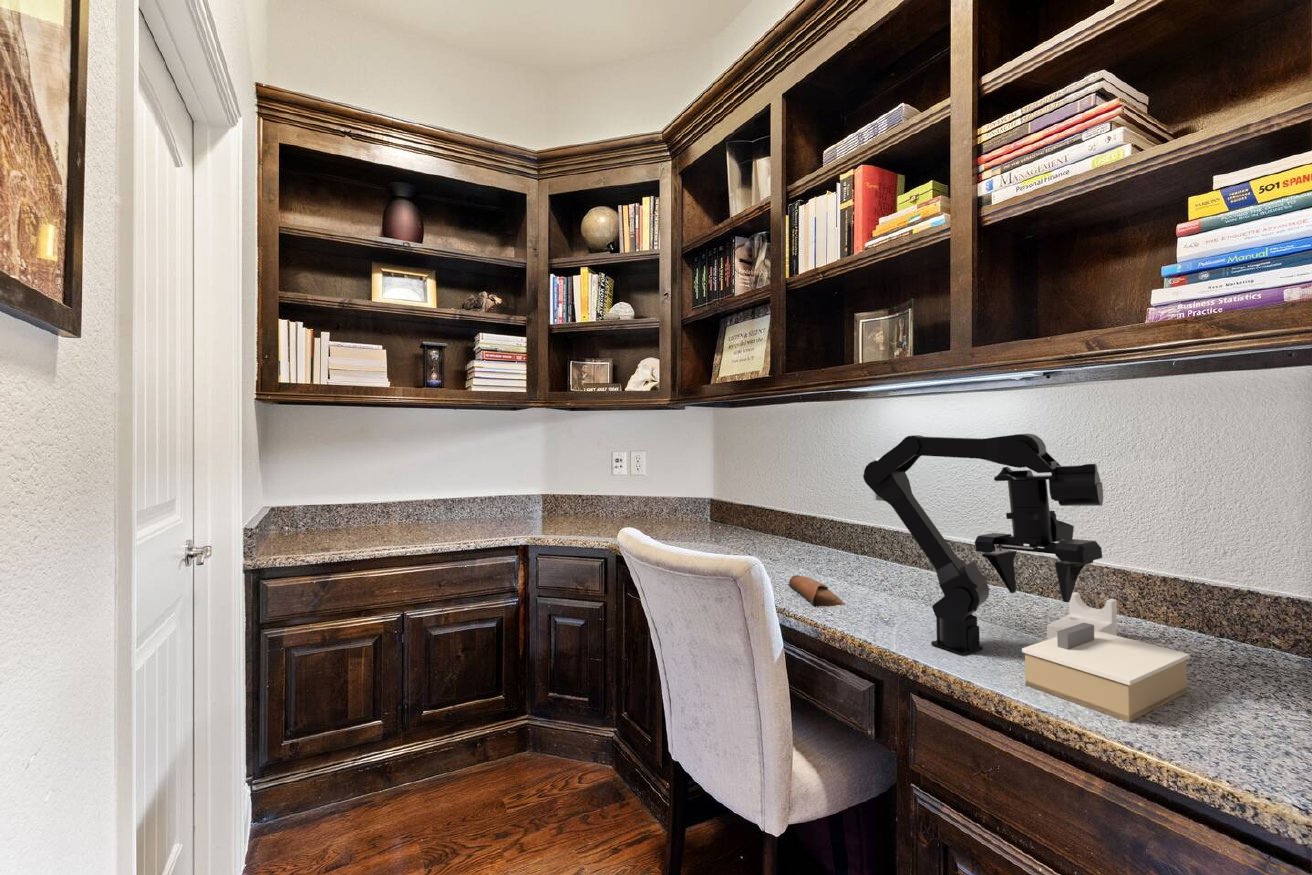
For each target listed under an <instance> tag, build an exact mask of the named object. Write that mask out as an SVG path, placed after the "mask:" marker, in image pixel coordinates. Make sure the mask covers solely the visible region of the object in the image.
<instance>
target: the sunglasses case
mask: <svg viewBox="0 0 1312 875" xmlns="http://www.w3.org/2000/svg"><path fill="white" fill-rule="evenodd" d="M788 586H789V588H791V589H792V590H794V591H796V592H798V594H799V595H801V596H802V597H803V598H805V599H806V601H808V602H809V603H810V604H811V605H813V606H814V607H815V606H817V607H816V608H820V607H819V606H827V607H837V606H836V605H840V606H846V604H845V603H844V601H843V600H841V598H840V597H839V596H838V595H837V594H835V592H833V591H831V590H830V589H829V587H828V586H827V585H825V584H823V583H822V582H820V581H818V580H815V579H814V578H810V577H809V576H804V575H799V574H796V575H793V576H791V578H790V579H789V581H788Z"/></svg>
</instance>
